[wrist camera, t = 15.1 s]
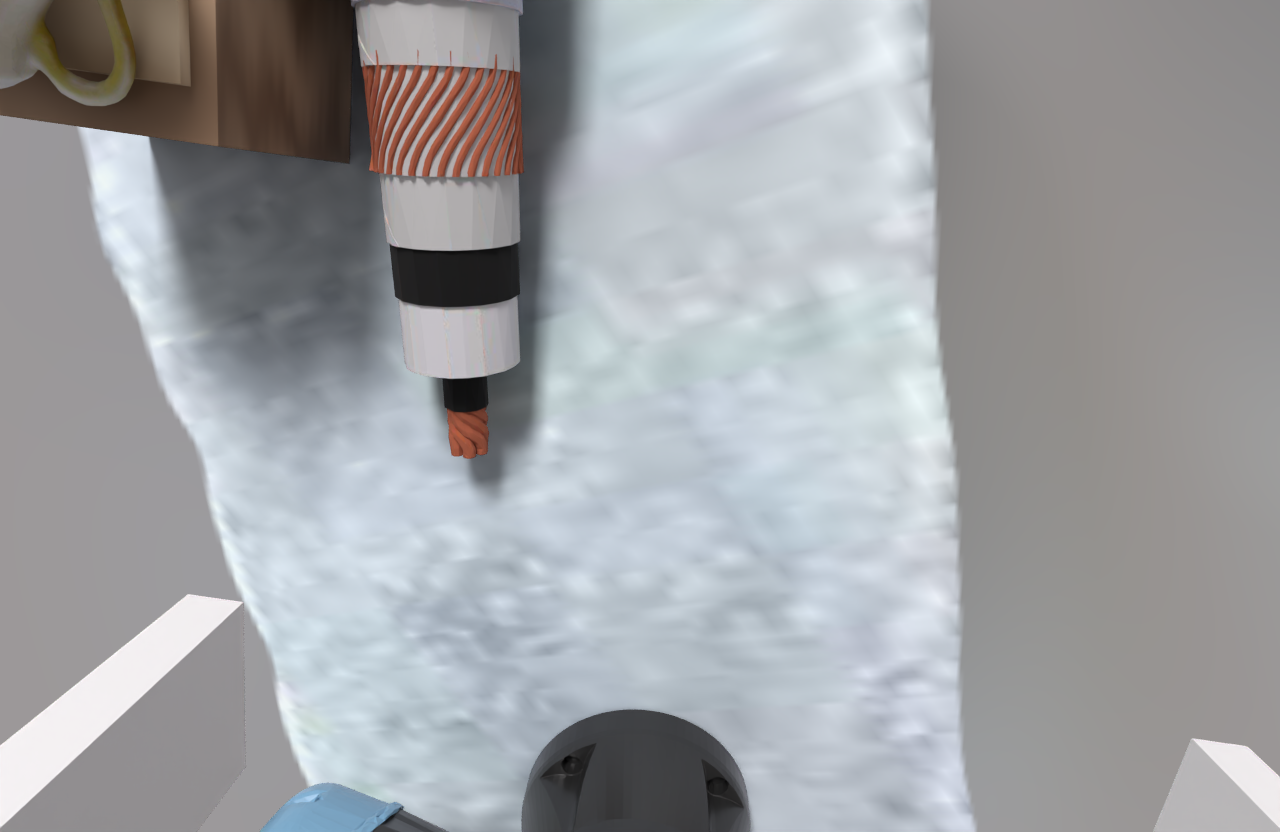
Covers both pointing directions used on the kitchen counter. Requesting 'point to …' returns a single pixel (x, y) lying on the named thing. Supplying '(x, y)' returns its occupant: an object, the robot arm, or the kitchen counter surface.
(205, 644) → the robot arm
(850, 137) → the kitchen counter surface
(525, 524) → the kitchen counter surface
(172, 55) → the plate
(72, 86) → the mug
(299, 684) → the kitchen counter surface
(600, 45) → the kitchen counter surface
